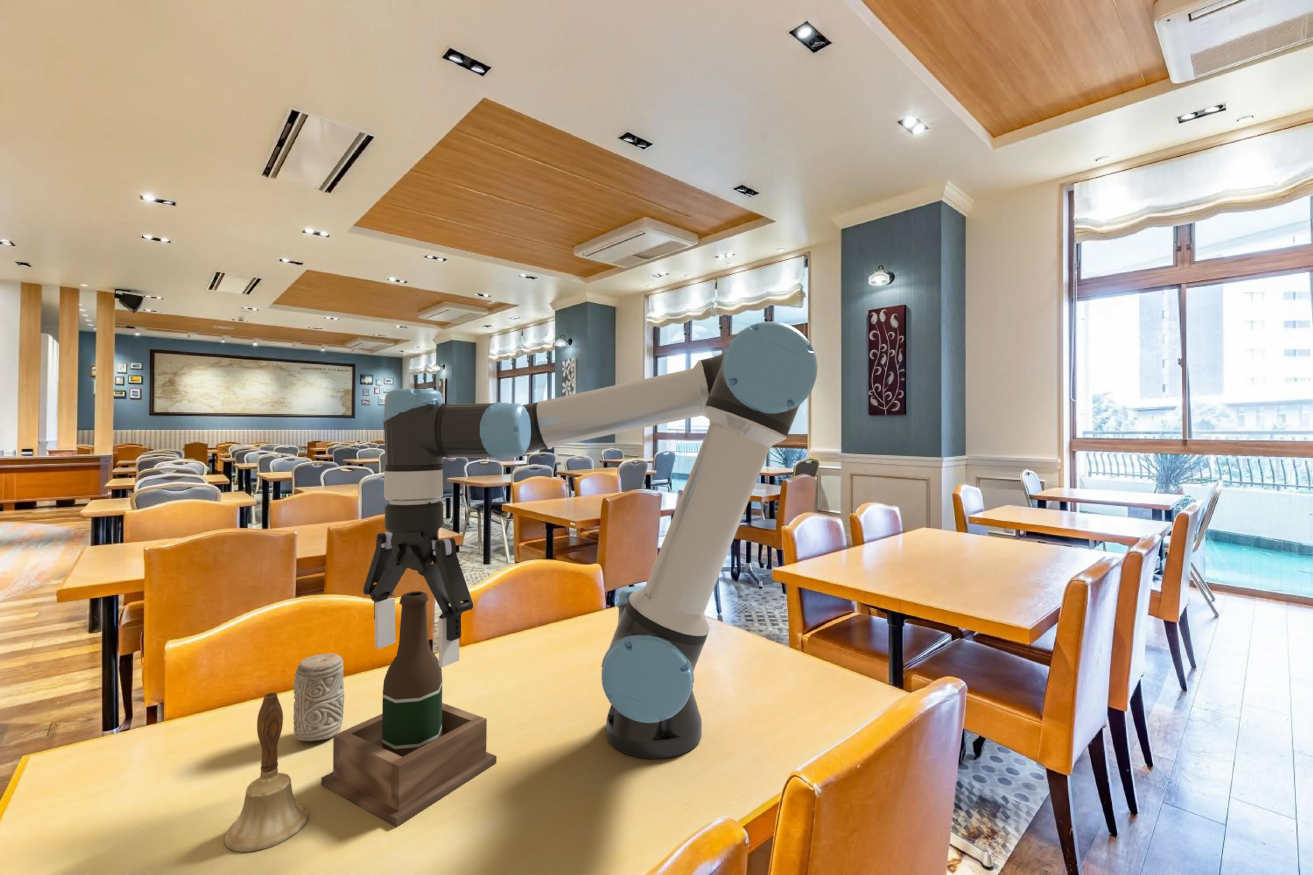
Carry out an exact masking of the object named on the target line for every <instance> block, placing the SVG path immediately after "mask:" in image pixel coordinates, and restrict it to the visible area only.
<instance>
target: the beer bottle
mask: <svg viewBox="0 0 1313 875" xmlns="http://www.w3.org/2000/svg"><path fill="white" fill-rule="evenodd" d="M428 601H429V596H428V593H427V592H424V591H418V590H417V591H409V592H406V593H403V594H402V595H401V596H400V600H399V602H398V603H399V604H400V606H401V610H400V611H401V613H400V623H399V624H400V626H399V627H400V628H399V639H398V640H399V641H398V647H397V651H396V652H397V653H396V656H395V657H394V658H393V660H392V662H391V664H390V665H389V667H388V668H387V671H386V674H385V676H384V679H383V686H382V688H383V689H382V707H381V708H382V710H381V712H382V713H381V714H382V748H384V749H386V750H388V751H390V752H393V753H395V754H397V755H399V756H401V757H403V756H405V755H407V754H409V753H411V752H413V751H415V750H417V749H418V748H420V747H422V746H424V745H426V744H428V743H430V742H432V741H433V740H435V739H437V738H439V737H441V736H442V703H443V674H442V673H443V672H442V667H439V657H438V656H436V654H435V653H434V652H433V650H432V649H431V645H430V641H429V640H430V639H429V629H428V614H427V602H428Z"/></svg>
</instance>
